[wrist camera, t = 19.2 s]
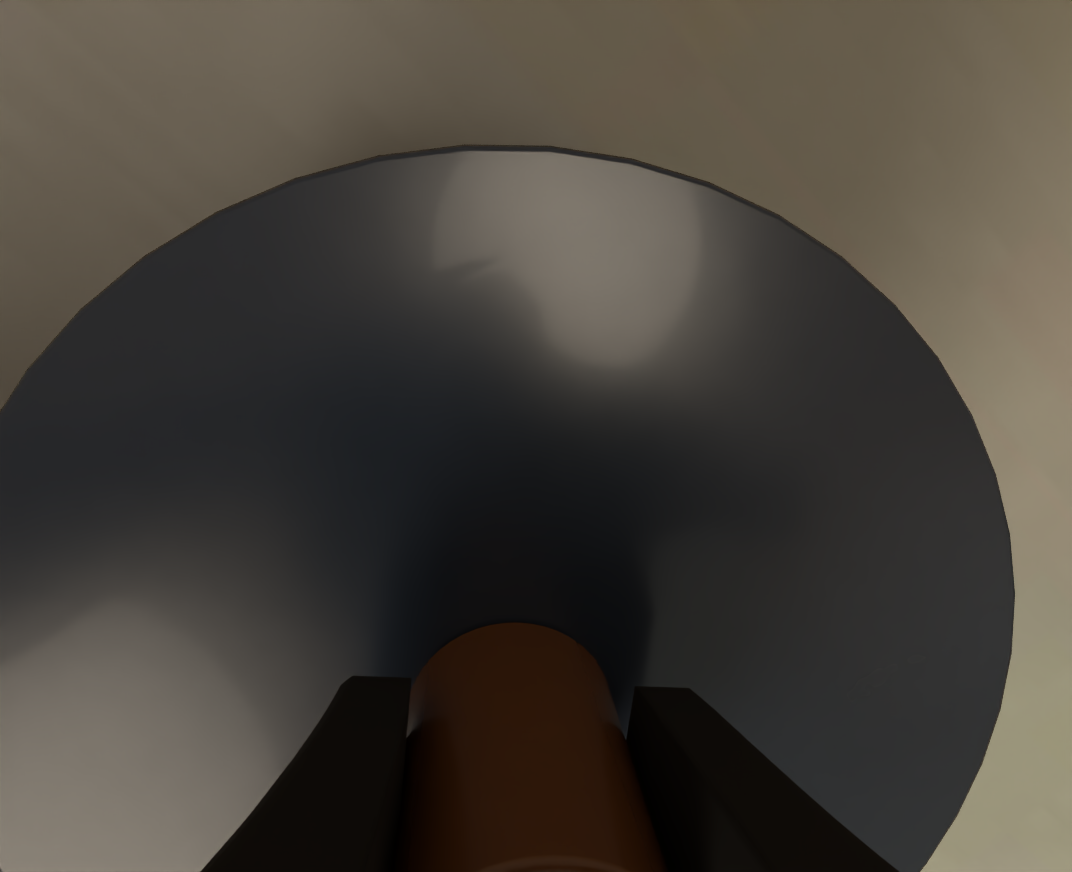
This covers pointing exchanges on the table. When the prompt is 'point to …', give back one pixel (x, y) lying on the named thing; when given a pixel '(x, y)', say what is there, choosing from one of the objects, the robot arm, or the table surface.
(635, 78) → the table surface
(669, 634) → the pot lid
